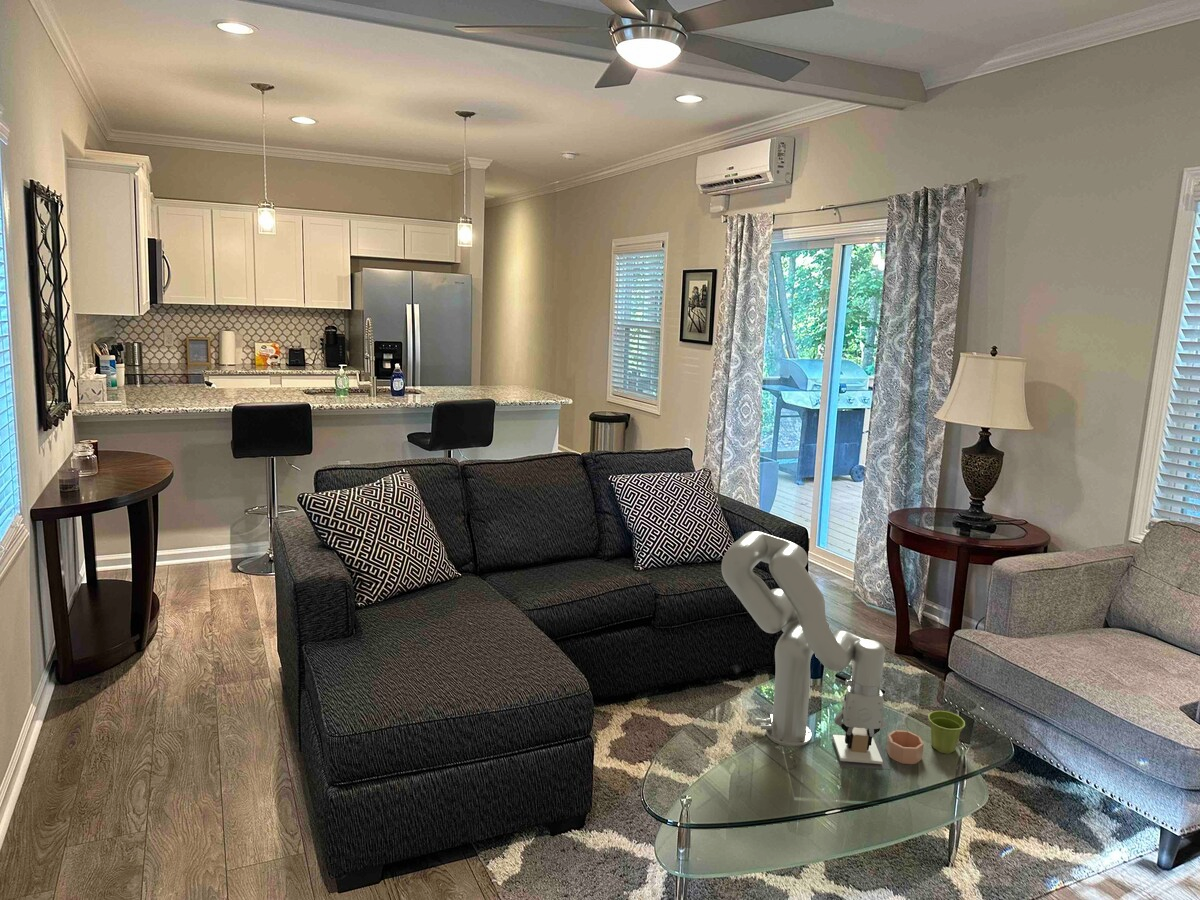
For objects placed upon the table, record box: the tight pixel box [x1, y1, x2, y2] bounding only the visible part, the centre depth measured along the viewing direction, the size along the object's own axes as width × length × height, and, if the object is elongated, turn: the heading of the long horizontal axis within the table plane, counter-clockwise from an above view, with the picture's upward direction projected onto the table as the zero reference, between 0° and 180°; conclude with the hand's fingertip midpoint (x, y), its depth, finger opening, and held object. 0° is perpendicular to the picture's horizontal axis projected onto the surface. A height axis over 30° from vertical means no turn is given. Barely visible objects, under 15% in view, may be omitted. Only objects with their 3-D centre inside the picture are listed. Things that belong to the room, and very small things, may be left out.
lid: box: [832, 728, 883, 764], centre depth 228 cm, size 11×11×6 cm
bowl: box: [885, 729, 925, 765], centre depth 228 cm, size 9×9×5 cm
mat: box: [830, 738, 891, 771], centre depth 229 cm, size 13×13×1 cm
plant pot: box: [927, 710, 966, 755], centre depth 232 cm, size 9×9×9 cm
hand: (857, 745), depth 228 cm, fingers closed on lid, 4 cm apart
